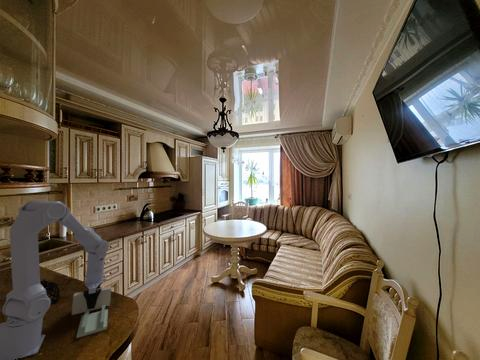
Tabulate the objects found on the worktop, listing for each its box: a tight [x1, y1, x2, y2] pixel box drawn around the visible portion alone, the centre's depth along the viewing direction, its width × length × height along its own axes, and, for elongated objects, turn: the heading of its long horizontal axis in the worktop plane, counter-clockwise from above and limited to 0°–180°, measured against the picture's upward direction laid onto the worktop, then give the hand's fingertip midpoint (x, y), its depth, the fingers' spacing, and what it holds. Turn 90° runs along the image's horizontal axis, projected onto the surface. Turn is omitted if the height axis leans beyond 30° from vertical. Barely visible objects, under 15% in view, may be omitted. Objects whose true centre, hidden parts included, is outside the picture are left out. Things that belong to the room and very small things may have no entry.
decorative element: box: [40, 278, 61, 305], centre depth 84 cm, size 22×5×6 cm, turn 60°
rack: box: [76, 305, 109, 339], centre depth 68 cm, size 8×11×3 cm
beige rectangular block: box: [71, 285, 112, 316], centre depth 76 cm, size 12×2×7 cm, turn 123°
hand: (92, 303), depth 76 cm, fingers open, 7 cm apart
